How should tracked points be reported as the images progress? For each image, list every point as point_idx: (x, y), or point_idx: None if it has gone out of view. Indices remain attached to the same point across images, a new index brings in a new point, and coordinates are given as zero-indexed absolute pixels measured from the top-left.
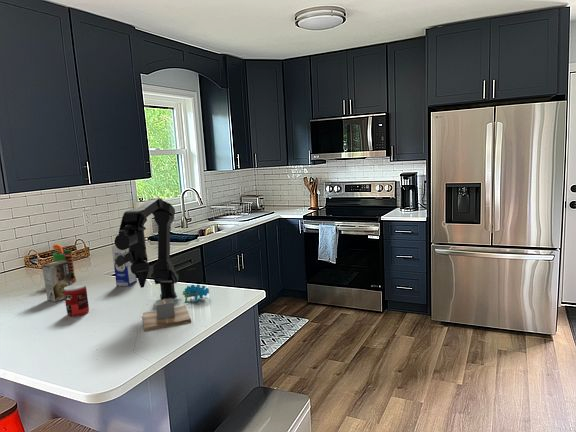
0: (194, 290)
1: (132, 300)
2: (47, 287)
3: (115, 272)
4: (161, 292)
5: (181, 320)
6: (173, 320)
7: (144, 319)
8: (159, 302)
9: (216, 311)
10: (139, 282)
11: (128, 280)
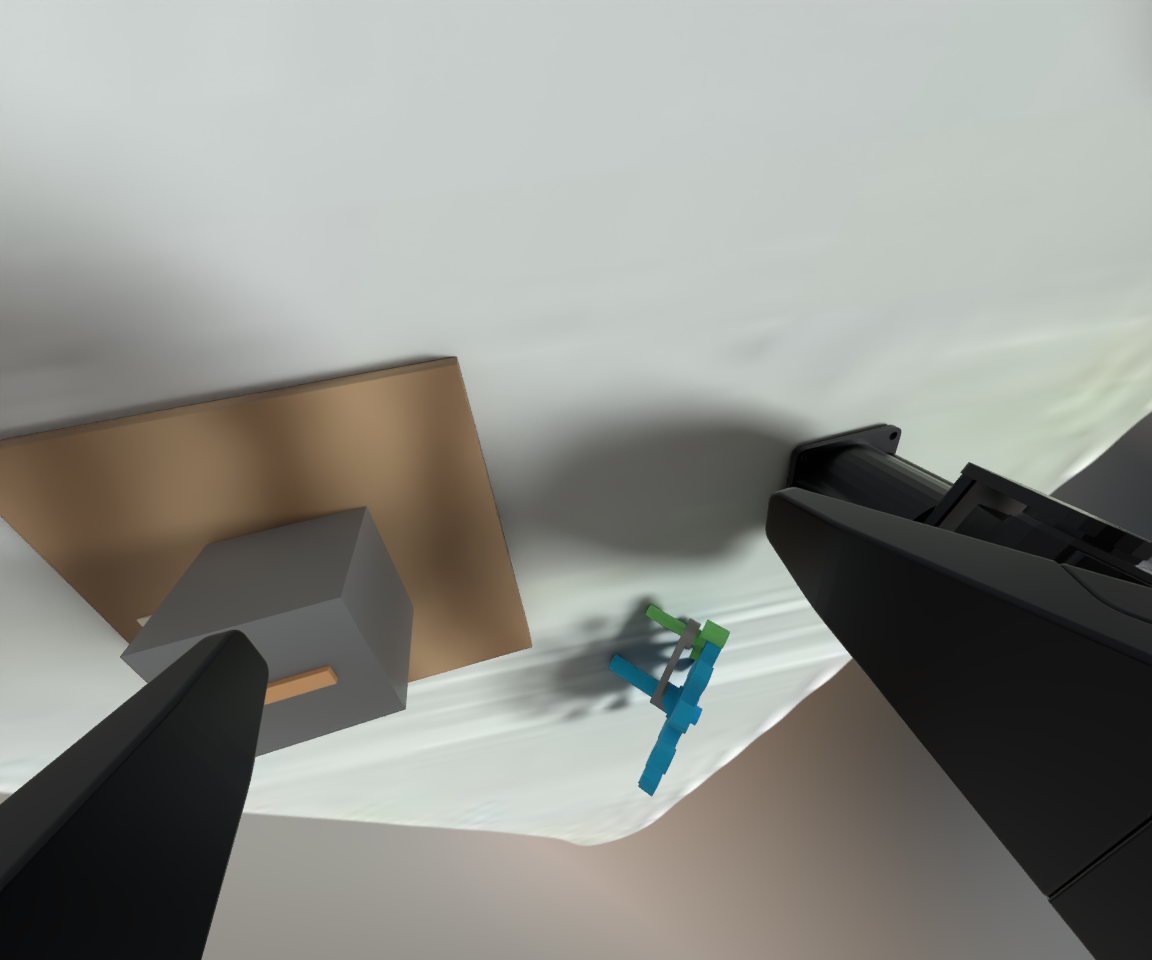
0: (673, 711)
1: (958, 174)
2: None
3: None
4: (864, 466)
5: None
6: None
7: (234, 419)
8: (260, 653)
9: (412, 772)
10: (8, 812)
11: None
